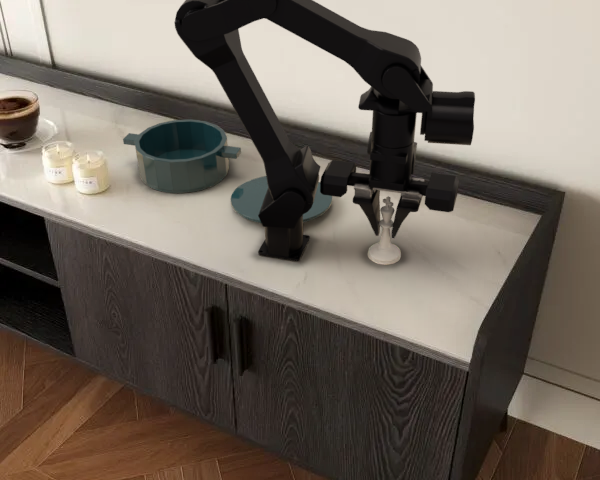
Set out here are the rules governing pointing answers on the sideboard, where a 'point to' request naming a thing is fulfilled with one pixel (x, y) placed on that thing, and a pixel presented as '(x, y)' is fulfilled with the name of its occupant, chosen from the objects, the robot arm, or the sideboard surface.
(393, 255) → the chess piece
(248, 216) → the lid
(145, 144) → the pot
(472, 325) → the sideboard surface
